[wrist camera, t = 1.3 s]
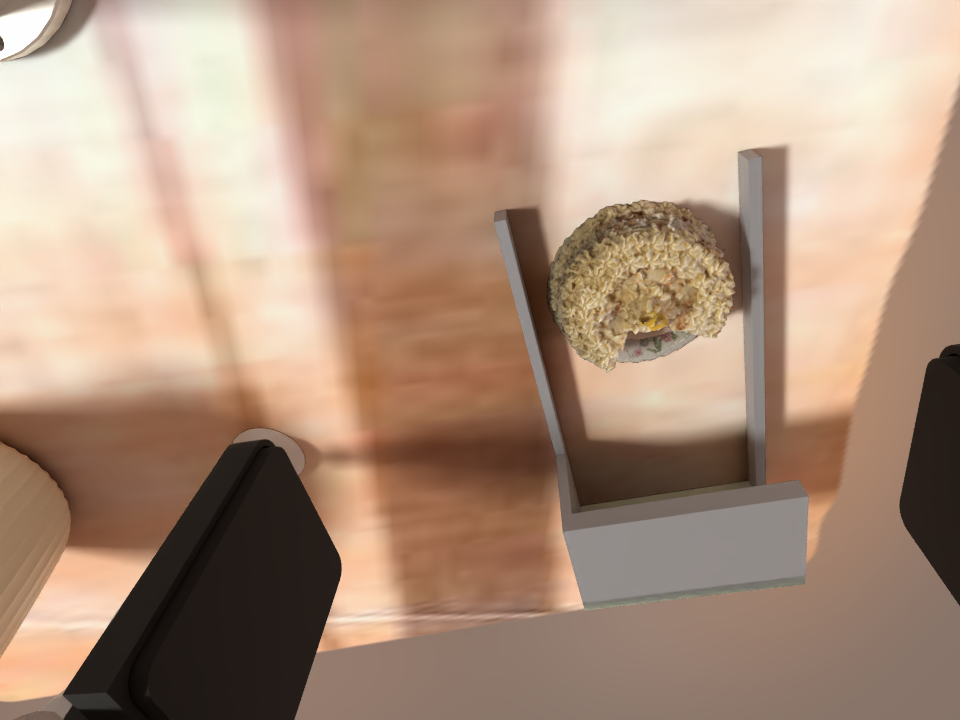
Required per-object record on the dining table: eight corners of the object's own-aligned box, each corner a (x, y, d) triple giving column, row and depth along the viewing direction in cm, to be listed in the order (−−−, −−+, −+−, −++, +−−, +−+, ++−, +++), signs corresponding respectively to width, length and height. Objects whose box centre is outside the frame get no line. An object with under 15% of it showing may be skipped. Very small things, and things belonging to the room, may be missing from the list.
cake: (515, 247, 33) (512, 281, 28) (690, 156, 30) (720, 177, 25) (590, 384, 36) (599, 435, 32) (752, 315, 33) (789, 360, 29)
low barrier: (494, 212, 31) (490, 274, 24) (750, 149, 28) (821, 198, 22) (573, 514, 43) (584, 610, 36) (758, 487, 40) (805, 584, 34)
